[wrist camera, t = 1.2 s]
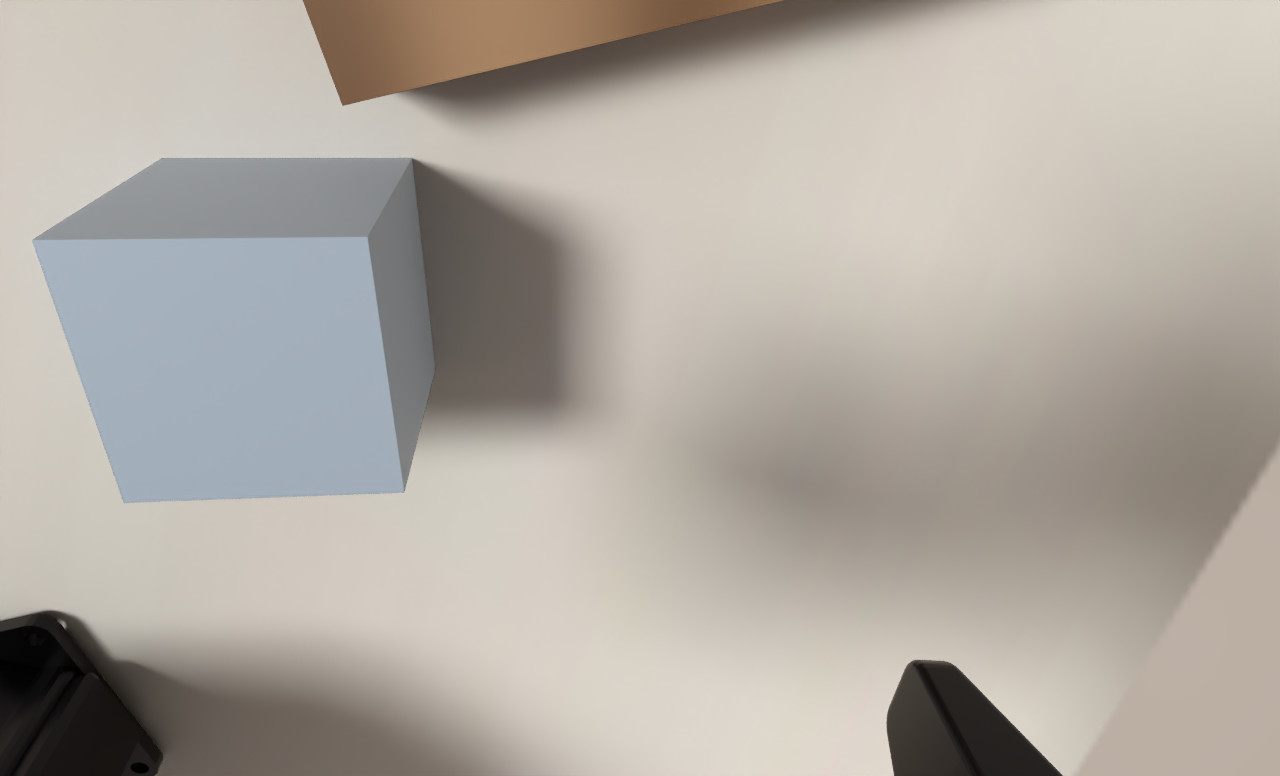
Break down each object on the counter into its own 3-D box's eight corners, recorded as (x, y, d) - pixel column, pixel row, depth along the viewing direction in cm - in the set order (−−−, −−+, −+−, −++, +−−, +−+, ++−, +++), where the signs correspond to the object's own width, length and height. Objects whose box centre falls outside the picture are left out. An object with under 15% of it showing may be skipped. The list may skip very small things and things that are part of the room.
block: (218, 372, 20) (124, 503, 15) (162, 157, 17) (31, 240, 13) (435, 367, 20) (404, 492, 16) (412, 157, 18) (367, 236, 13)
